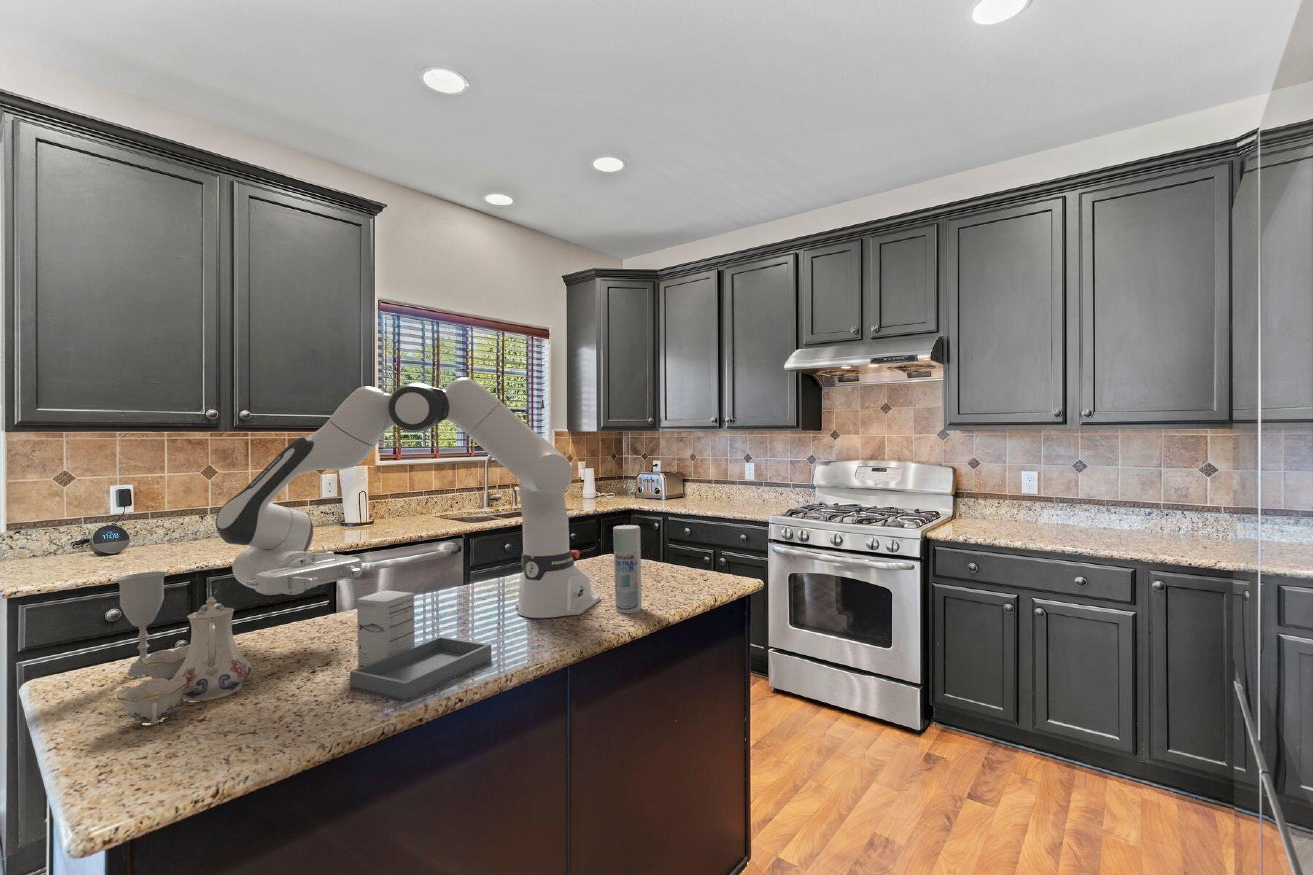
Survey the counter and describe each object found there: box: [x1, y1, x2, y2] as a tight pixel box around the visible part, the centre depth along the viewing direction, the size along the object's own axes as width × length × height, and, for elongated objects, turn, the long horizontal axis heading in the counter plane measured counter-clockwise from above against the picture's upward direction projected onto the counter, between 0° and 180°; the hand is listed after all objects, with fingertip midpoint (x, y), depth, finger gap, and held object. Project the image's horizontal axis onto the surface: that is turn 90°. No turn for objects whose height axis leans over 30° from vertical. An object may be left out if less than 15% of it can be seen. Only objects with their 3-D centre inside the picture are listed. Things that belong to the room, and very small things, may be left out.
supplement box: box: [356, 589, 416, 666], centre depth 116 cm, size 7×7×13 cm
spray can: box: [612, 524, 642, 614], centre depth 148 cm, size 6×6×20 cm
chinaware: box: [116, 596, 253, 726], centre depth 102 cm, size 28×17×17 cm, turn 36°
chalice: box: [115, 571, 168, 677], centre depth 113 cm, size 7×7×18 cm
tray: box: [349, 636, 493, 703], centre depth 109 cm, size 20×13×3 cm, turn 154°
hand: (336, 578), depth 122 cm, fingers open, 8 cm apart
